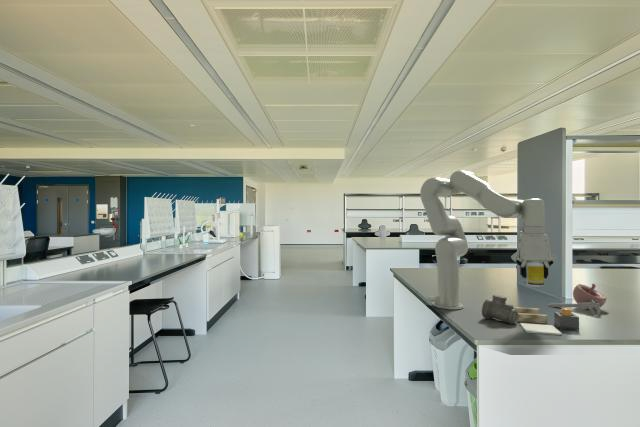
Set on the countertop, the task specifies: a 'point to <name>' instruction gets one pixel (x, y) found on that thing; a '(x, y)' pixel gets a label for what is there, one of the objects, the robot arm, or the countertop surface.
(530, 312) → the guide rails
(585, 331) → the countertop surface
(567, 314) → the plunger
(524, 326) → the pad
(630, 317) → the countertop surface
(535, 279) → the pill bottle
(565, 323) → the block
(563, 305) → the caliper
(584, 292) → the mortar and pestle
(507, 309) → the pipe fitting
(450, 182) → the robot arm
